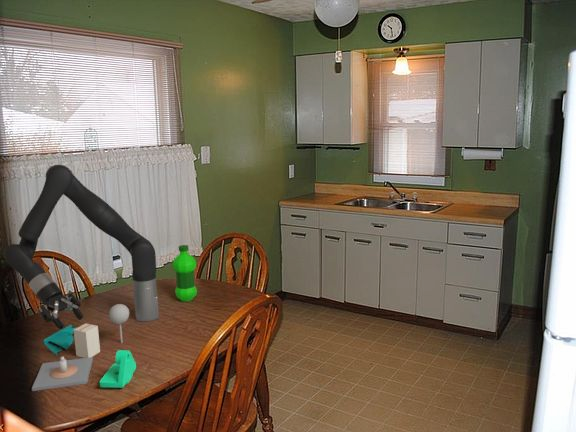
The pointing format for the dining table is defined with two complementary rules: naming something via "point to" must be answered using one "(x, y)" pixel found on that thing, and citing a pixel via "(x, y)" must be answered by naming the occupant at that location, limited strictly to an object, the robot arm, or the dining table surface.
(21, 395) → the dining table surface
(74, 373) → the base
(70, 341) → the cloth
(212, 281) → the dining table surface
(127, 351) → the camera mount
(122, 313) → the lollipop
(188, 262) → the plastic bottle
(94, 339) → the striped cream block
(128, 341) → the dining table surface
